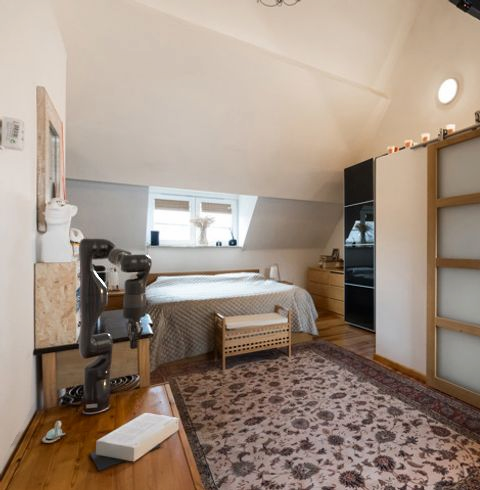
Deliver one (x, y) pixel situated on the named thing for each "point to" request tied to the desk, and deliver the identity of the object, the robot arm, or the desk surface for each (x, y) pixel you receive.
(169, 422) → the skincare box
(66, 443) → the desk surface
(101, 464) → the dark rubber mat
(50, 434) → the pacifier
